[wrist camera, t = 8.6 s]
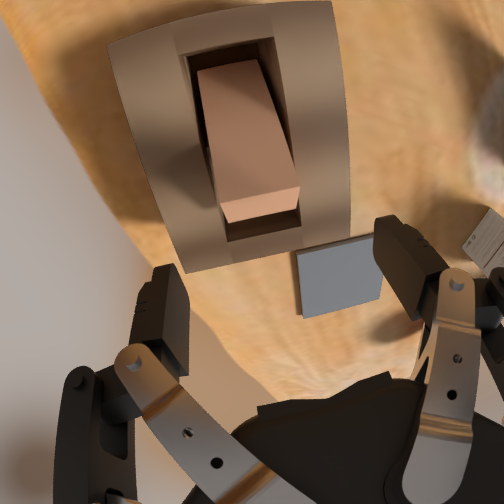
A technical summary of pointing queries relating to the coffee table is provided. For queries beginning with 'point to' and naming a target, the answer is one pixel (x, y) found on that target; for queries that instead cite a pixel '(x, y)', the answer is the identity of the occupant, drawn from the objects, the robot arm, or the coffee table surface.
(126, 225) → the coffee table surface
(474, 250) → the supplement box
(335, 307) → the slate pad
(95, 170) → the coffee table surface
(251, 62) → the slab
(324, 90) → the pocket board
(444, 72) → the coffee table surface
